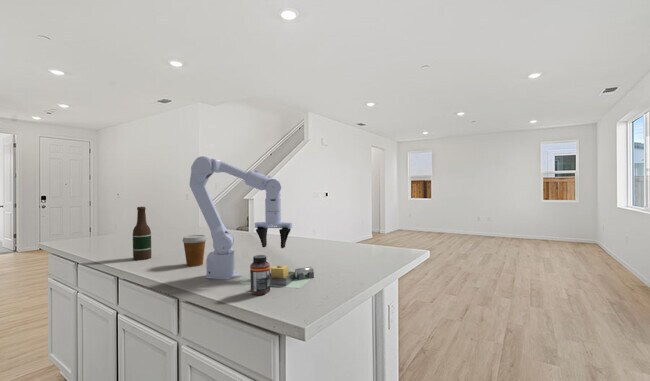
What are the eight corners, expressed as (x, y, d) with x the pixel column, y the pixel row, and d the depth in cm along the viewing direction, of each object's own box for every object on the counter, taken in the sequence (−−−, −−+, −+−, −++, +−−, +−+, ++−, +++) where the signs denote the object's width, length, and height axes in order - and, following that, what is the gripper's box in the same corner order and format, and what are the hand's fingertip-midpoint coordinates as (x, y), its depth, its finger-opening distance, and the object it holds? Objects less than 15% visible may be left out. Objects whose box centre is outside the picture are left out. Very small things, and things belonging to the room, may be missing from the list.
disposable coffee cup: (180, 264, 139) (179, 236, 139) (202, 260, 145) (202, 233, 145) (186, 268, 131) (185, 238, 131) (210, 264, 137) (209, 236, 137)
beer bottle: (155, 257, 152) (154, 206, 152) (138, 261, 146) (137, 207, 145) (146, 256, 156) (145, 206, 156) (129, 259, 150) (128, 207, 149)
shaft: (298, 281, 112) (298, 270, 112) (294, 278, 115) (294, 267, 115) (314, 278, 115) (314, 267, 115) (309, 276, 118) (309, 265, 118)
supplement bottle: (252, 289, 104) (251, 254, 103) (270, 289, 104) (270, 253, 104) (249, 296, 98) (248, 258, 97) (269, 295, 98) (268, 257, 98)
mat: (238, 284, 110) (238, 283, 110) (260, 271, 125) (260, 270, 125) (299, 289, 103) (299, 288, 103) (315, 275, 119) (315, 274, 119)
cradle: (263, 285, 108) (263, 276, 108) (274, 278, 116) (274, 270, 116) (286, 287, 106) (286, 278, 106) (295, 280, 113) (295, 271, 113)
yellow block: (276, 279, 113) (276, 264, 113) (288, 280, 112) (288, 264, 112) (271, 283, 109) (270, 267, 109) (283, 284, 108) (283, 268, 108)
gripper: (250, 211, 120) (250, 248, 120) (286, 212, 116) (287, 250, 116) (259, 210, 127) (260, 245, 127) (294, 210, 123) (294, 246, 123)
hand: (273, 247), depth 122 cm, fingers open, 7 cm apart
